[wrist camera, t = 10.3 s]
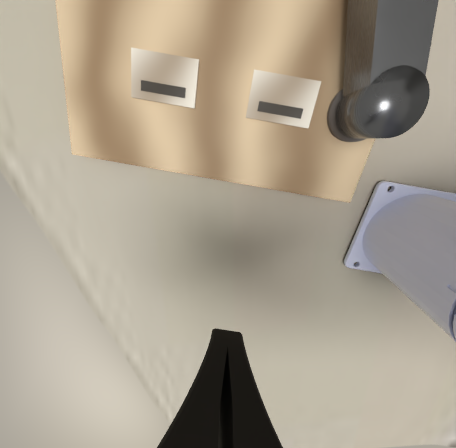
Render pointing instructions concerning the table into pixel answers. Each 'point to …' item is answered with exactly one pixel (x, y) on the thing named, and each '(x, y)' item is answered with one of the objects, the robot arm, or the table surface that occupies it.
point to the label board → (213, 90)
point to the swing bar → (385, 67)
